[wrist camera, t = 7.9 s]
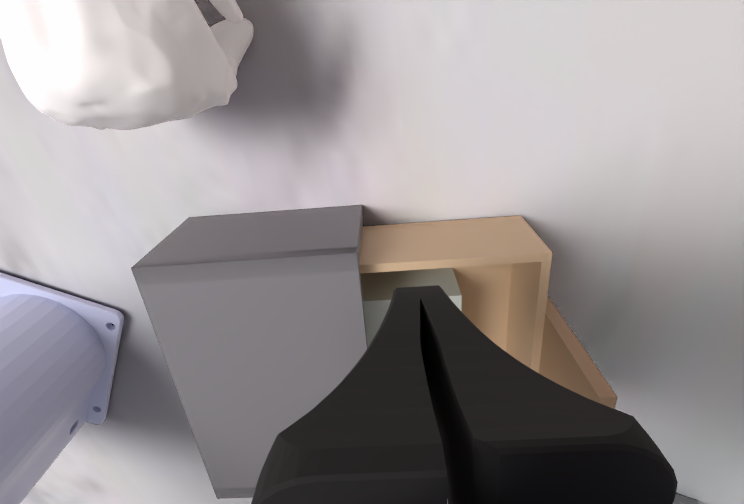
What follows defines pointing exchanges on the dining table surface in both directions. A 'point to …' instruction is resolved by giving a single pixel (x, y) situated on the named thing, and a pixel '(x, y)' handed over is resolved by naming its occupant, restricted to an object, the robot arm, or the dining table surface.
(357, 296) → the mailer sleeve
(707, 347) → the dining table surface
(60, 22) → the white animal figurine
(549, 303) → the mailer tray
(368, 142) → the dining table surface
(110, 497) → the dining table surface
